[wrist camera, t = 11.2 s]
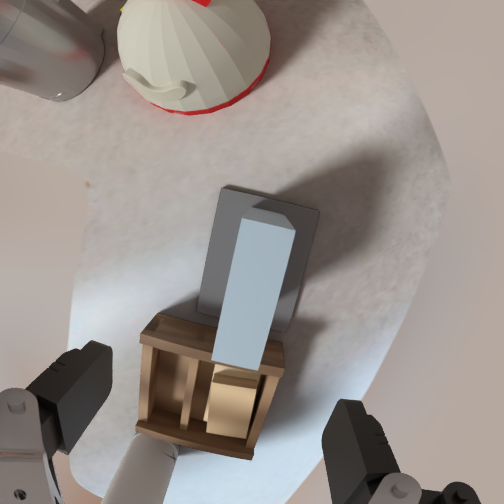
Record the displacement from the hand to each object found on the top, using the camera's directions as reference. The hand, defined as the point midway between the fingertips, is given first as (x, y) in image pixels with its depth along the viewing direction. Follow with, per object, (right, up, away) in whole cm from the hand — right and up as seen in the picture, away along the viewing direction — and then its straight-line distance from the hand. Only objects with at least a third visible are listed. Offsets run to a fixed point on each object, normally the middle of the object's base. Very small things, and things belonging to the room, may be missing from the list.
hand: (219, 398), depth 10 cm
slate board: (+2, +4, +19) cm, 20 cm away
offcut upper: (-1, -11, +20) cm, 23 cm away
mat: (+1, +4, +20) cm, 20 cm away
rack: (-4, -9, +23) cm, 24 cm away
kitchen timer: (-4, +24, +16) cm, 30 cm away
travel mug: (-11, -20, +25) cm, 34 cm away
